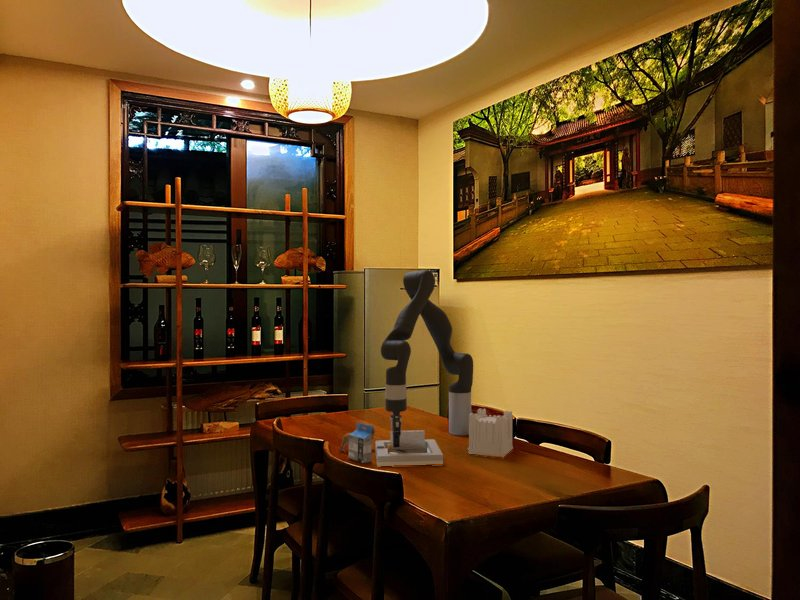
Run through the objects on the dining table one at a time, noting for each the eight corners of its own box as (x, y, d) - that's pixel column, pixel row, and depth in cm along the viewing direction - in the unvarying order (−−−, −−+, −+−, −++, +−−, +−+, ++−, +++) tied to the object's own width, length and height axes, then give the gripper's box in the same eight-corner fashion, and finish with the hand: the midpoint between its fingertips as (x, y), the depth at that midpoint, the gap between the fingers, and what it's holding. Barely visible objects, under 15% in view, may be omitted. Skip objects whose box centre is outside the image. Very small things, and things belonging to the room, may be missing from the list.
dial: (424, 447, 219) (424, 426, 219) (429, 457, 205) (429, 435, 205) (386, 447, 218) (386, 427, 218) (388, 458, 204) (388, 436, 204)
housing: (434, 448, 223) (434, 437, 223) (443, 465, 201) (443, 453, 201) (375, 450, 221) (375, 438, 221) (377, 466, 199) (377, 454, 199)
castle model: (503, 458, 209) (503, 417, 209) (462, 453, 216) (462, 414, 216) (512, 449, 221) (512, 411, 221) (473, 445, 227) (473, 408, 227)
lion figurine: (371, 446, 227) (371, 422, 227) (378, 449, 222) (378, 425, 222) (335, 451, 219) (335, 427, 219) (342, 454, 215) (341, 429, 215)
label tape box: (347, 458, 210) (347, 423, 210) (357, 456, 213) (357, 421, 213) (362, 463, 203) (362, 427, 203) (372, 461, 206) (372, 425, 206)
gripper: (408, 400, 204) (408, 451, 204) (404, 393, 218) (405, 441, 218) (386, 400, 204) (386, 451, 204) (384, 394, 217) (384, 441, 217)
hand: (396, 445), depth 211 cm, fingers closed on dial, 2 cm apart
